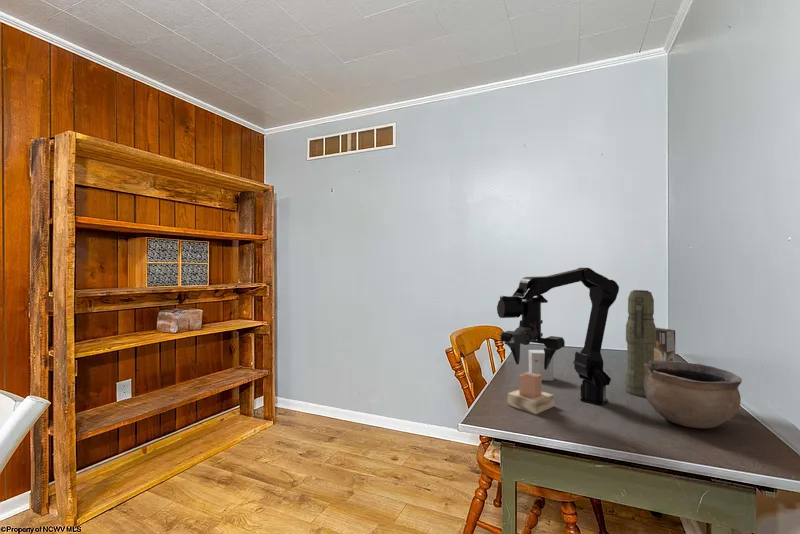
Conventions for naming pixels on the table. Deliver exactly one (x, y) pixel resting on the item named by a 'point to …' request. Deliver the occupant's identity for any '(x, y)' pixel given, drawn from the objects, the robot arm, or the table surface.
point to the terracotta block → (530, 384)
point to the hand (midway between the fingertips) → (531, 366)
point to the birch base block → (530, 401)
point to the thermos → (639, 339)
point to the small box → (540, 364)
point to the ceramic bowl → (692, 393)
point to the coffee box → (664, 345)
